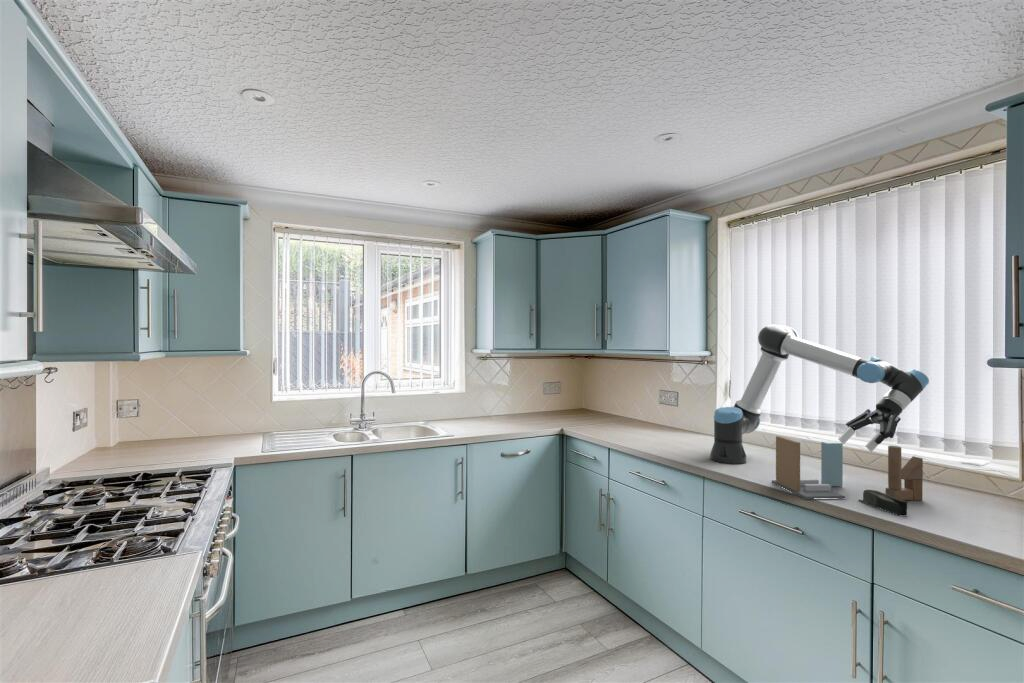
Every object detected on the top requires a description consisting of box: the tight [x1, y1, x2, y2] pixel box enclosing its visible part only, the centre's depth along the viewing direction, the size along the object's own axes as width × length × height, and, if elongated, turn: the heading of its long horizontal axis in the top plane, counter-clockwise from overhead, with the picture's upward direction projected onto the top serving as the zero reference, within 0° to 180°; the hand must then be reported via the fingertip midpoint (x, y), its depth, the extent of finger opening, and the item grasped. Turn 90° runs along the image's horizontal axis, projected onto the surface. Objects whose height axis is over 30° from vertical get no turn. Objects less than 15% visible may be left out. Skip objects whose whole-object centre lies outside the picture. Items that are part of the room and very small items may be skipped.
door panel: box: [820, 441, 844, 486], centre depth 184 cm, size 3×6×16 cm, turn 93°
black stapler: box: [857, 489, 908, 516], centre depth 158 cm, size 5×3×15 cm
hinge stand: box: [771, 435, 847, 500], centre depth 177 cm, size 20×14×18 cm
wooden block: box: [885, 445, 924, 502], centre depth 168 cm, size 4×11×18 cm, turn 97°
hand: (854, 445), depth 184 cm, fingers open, 13 cm apart
